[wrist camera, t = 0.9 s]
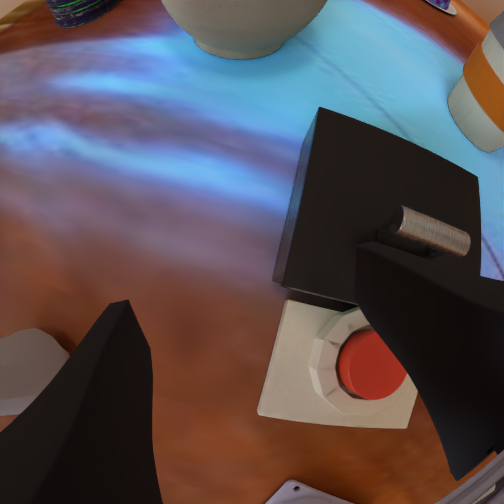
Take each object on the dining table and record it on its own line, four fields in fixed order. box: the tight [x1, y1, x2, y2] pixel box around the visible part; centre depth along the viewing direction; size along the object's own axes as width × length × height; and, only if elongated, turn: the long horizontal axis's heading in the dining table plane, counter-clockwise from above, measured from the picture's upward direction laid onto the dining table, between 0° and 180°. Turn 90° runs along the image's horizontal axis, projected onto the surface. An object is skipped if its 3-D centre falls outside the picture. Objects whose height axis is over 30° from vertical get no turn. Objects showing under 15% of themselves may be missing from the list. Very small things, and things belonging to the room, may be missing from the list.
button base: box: [257, 300, 418, 428], centre depth 19 cm, size 9×12×3 cm
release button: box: [338, 329, 407, 400], centre depth 17 cm, size 4×4×2 cm
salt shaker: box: [0, 328, 70, 416], centre depth 12 cm, size 6×6×13 cm
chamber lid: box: [281, 107, 481, 305], centre depth 16 cm, size 12×14×4 cm
